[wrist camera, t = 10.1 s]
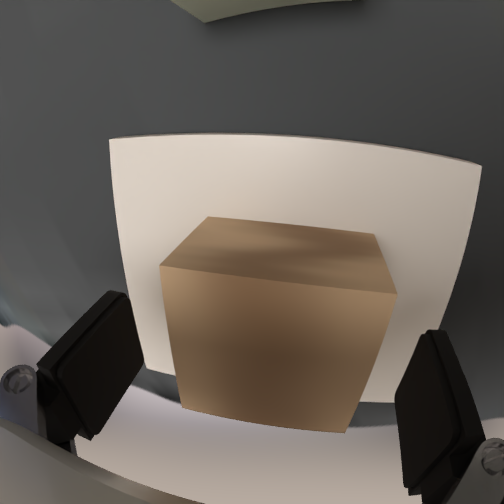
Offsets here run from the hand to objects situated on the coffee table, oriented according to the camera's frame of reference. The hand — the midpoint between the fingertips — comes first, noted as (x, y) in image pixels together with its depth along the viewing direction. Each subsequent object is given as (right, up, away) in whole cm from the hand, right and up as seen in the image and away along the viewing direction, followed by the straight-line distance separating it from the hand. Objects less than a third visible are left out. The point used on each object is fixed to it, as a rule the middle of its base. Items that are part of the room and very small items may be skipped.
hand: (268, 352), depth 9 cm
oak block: (+1, +1, +3) cm, 3 cm away
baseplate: (+1, +2, +4) cm, 4 cm away
